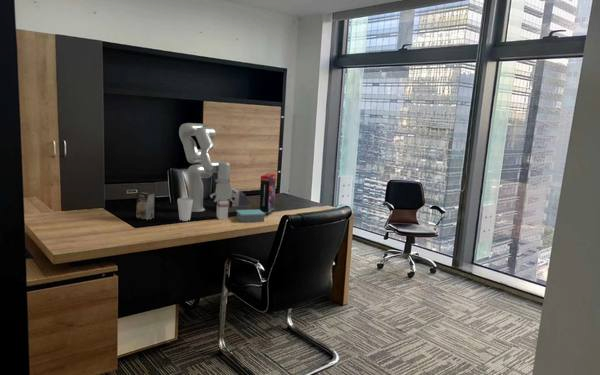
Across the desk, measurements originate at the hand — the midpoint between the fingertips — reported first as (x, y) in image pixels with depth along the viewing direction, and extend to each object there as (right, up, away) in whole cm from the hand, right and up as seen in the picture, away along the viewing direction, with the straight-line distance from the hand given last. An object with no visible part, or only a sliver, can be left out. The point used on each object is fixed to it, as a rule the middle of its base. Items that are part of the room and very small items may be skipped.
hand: (223, 207), depth 284 cm
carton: (-1, -7, +1) cm, 7 cm away
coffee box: (-46, -6, -13) cm, 48 cm away
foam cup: (-22, -7, -10) cm, 25 cm away
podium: (+17, -8, +2) cm, 19 cm away
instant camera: (+2, -3, +32) cm, 32 cm away
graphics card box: (+26, -5, +24) cm, 36 cm away
